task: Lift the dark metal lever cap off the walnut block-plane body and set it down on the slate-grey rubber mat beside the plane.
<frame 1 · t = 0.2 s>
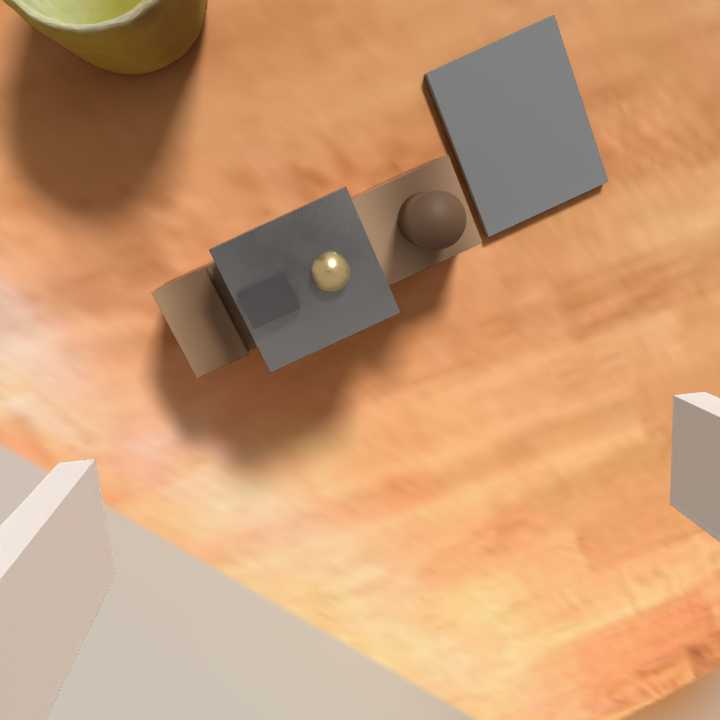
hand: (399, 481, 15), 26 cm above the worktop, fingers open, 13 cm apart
mat: (516, 130, 39), on the worktop
plane body: (317, 259, 39), on the worktop
lever cap: (304, 273, 35), point 4 cm above the worktop, touching plane body
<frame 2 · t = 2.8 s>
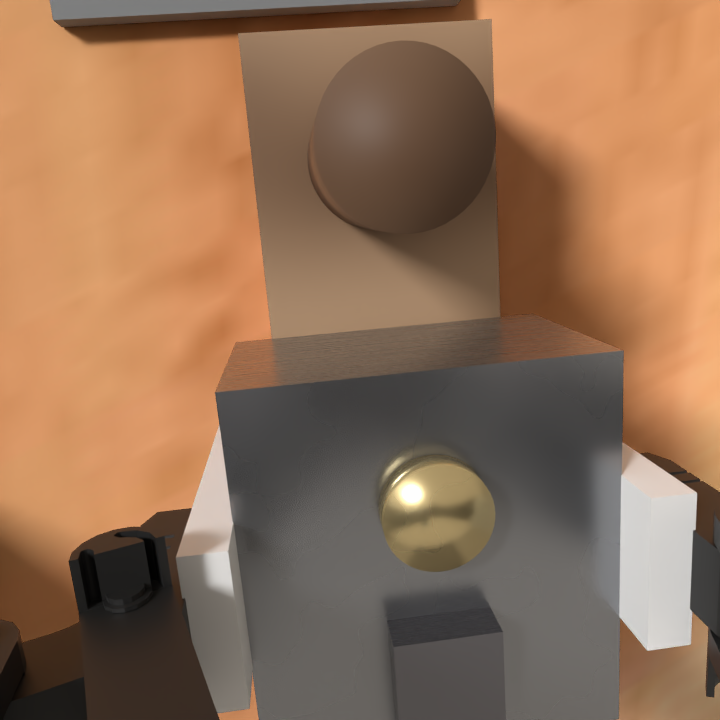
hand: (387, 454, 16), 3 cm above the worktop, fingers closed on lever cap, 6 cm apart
plane body: (371, 385, 19), on the worktop
lever cap: (397, 478, 15), point 5 cm above the worktop, touching gripper, plane body
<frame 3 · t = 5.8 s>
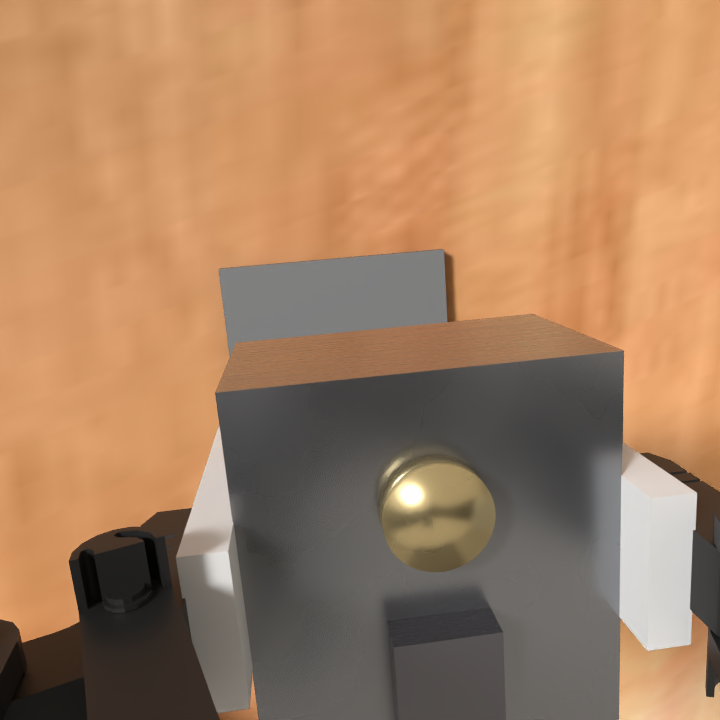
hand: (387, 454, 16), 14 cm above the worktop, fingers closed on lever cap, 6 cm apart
mat: (339, 345, 30), on the worktop
lever cap: (397, 478, 15), point 16 cm above the worktop, touching gripper
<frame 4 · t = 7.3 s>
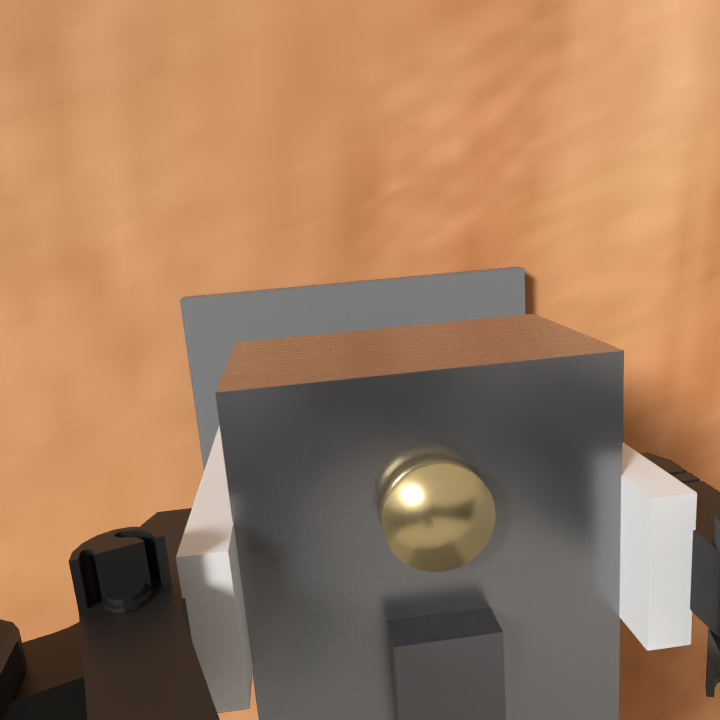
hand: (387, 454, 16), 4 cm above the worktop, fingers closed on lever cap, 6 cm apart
mat: (364, 410, 20), on the worktop
lever cap: (397, 478, 15), point 6 cm above the worktop, touching gripper
when the fingers open (1 cm above the worktop, at t = 8.8 s): lever cap drops 2 cm, resting on mat.
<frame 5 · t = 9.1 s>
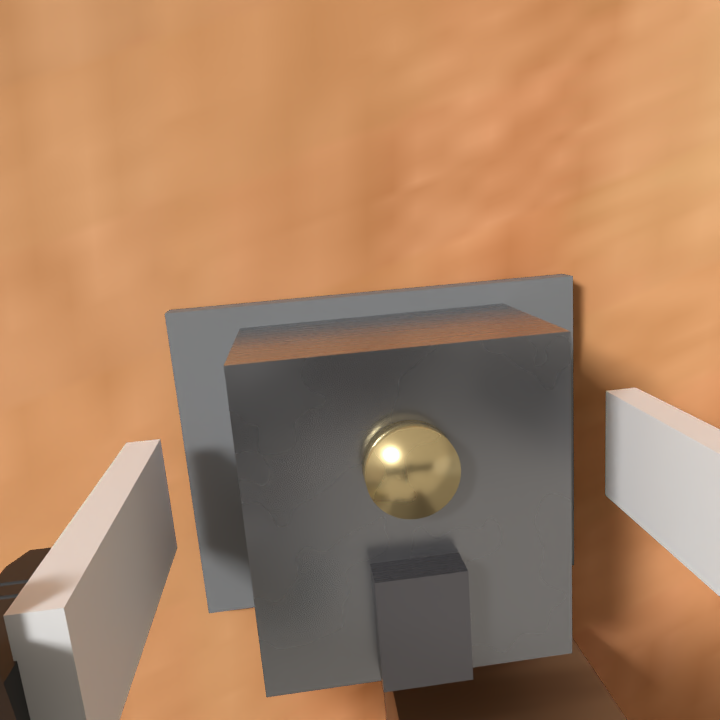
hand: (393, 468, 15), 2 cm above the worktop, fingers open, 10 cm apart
mat: (382, 441, 17), on the worktop
lever cap: (383, 450, 17), point 1 cm above the worktop, touching mat
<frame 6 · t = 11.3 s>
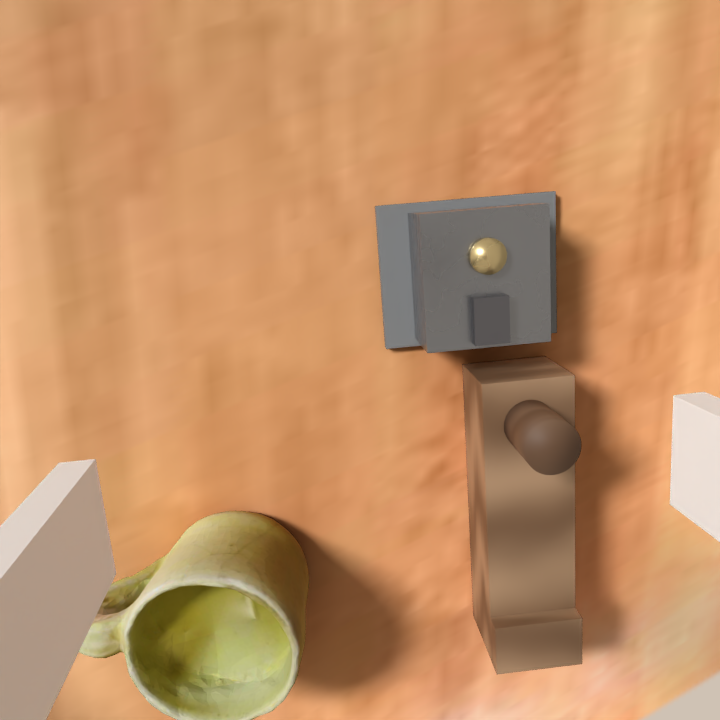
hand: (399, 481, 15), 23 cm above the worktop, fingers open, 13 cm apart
mug: (208, 566, 41), on the worktop
mat: (466, 270, 37), on the worktop
plane body: (507, 491, 41), on the worktop
lever cap: (468, 271, 37), point 1 cm above the worktop, touching mat
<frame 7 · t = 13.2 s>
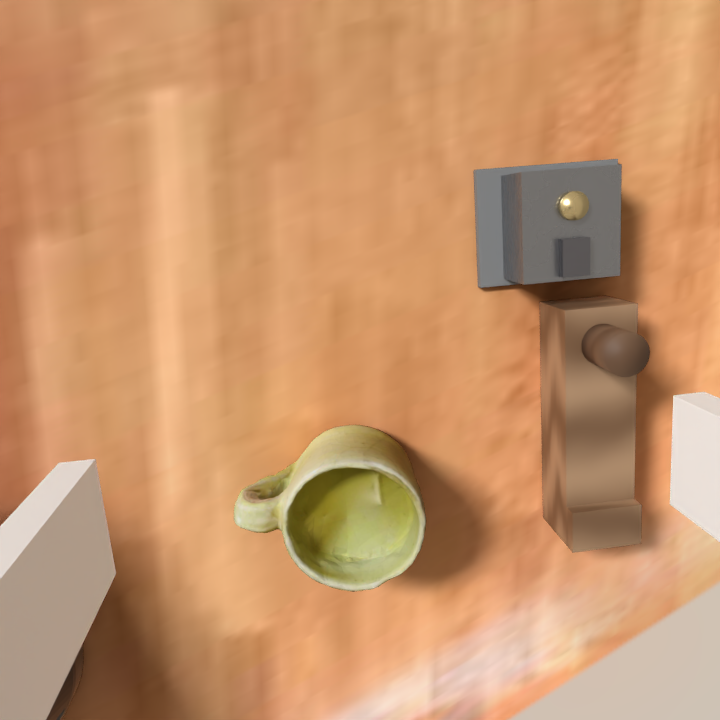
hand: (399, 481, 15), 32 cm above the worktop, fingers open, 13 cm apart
mug: (326, 474, 49), on the worktop
mat: (545, 223, 46), on the worktop
plane body: (573, 410, 49), on the worktop
lever cap: (547, 224, 45), point 1 cm above the worktop, touching mat
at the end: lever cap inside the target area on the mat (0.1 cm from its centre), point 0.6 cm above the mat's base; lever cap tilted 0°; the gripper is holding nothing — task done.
